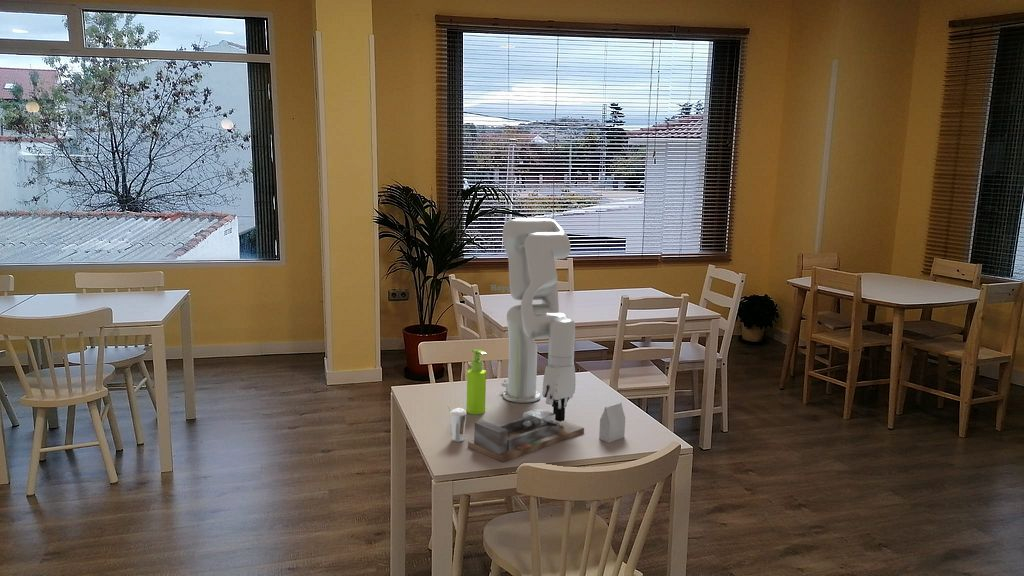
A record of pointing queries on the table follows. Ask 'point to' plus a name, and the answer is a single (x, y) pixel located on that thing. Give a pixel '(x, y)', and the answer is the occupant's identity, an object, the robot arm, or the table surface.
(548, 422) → the slider
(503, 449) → the gauge bench
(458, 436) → the milkshake
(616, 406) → the tea bag
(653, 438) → the table surface
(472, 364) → the soap dispenser
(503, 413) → the table surface
